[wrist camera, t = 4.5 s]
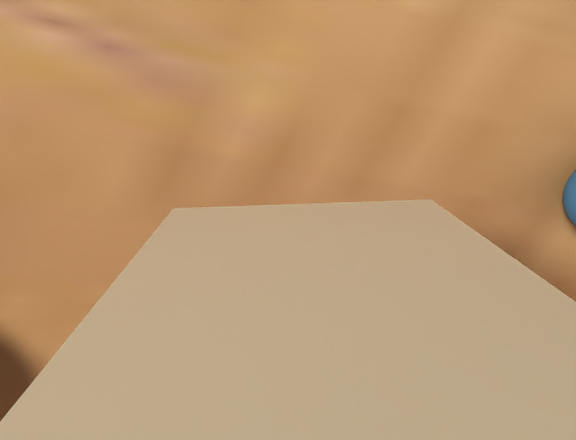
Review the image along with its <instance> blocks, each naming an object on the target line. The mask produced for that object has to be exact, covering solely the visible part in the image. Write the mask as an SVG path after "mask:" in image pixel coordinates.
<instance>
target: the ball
mask: <svg viewBox="0 0 576 440" xmlns="http://www.w3.org/2000/svg"><path fill="white" fill-rule="evenodd" d="M563 205H564V209H565V212H566V214H567V216H568V217H569V219H570V220H571V222H572V223H573V224H574V225H575V226H576V170H575V171H574V172H573V173H572V175H571V176H570V177H569V179H568V181H567V183H566V185H565V188H564V191H563Z"/></svg>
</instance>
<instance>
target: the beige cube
mask: <svg viewBox="0 0 576 440" xmlns="http://www.w3.org/2000/svg"><path fill="white" fill-rule="evenodd" d="M0 440H576V302H575V301H574V300H572V299H571V298H570V297H568V296H567V295H565V294H564V293H563V292H561V291H560V290H558V289H557V288H555V287H554V286H553V285H551V284H550V283H548V282H547V281H546V280H544V279H543V278H541V277H540V276H538V275H537V274H536V273H534V272H533V271H531V270H530V269H529V268H527V267H526V266H524V265H523V264H521V263H520V262H519V261H517V260H516V259H514V258H513V257H512V256H510V255H509V254H507V253H506V252H504V251H503V250H502V249H500V248H499V247H497V246H496V245H495V244H493V243H492V242H490V241H489V240H487V239H486V238H485V237H483V236H482V235H480V234H479V233H478V232H476V231H475V230H473V229H472V228H470V227H469V226H468V225H466V224H465V223H463V222H462V221H461V220H459V219H458V218H456V217H455V216H453V215H452V214H451V213H449V212H448V211H446V210H445V209H444V208H442V207H441V206H439V205H438V204H436V203H435V202H434V201H432V200H402V201H373V202H344V203H315V204H286V205H257V206H228V207H200V208H173V209H172V211H171V212H170V213H169V214H168V216H167V217H166V218H165V219H164V221H163V222H162V223H161V224H160V225H159V227H158V228H157V229H156V230H155V232H154V233H153V234H152V235H151V237H150V238H149V239H148V240H147V241H146V243H145V244H144V245H143V246H142V248H141V249H140V250H139V251H138V253H137V254H136V255H135V256H134V257H133V259H132V260H131V261H130V262H129V264H128V265H127V266H126V267H125V269H124V270H123V271H122V272H121V273H120V275H119V276H118V277H117V278H116V280H115V281H114V282H113V283H112V285H111V286H110V287H109V288H108V290H107V291H106V292H105V293H104V294H103V296H102V297H101V298H100V299H99V301H98V302H97V303H96V304H95V306H94V307H93V308H92V309H91V310H90V312H89V313H88V314H87V315H86V317H85V318H84V319H83V320H82V322H81V323H80V324H79V325H78V326H77V328H76V329H75V330H74V331H73V333H72V334H71V335H70V336H69V338H68V339H67V340H66V341H65V342H64V344H63V345H62V346H61V347H60V349H59V350H58V351H57V352H56V354H55V355H54V356H53V357H52V358H51V360H50V361H49V362H48V363H47V365H46V366H45V367H44V368H43V370H42V371H41V372H40V373H39V374H38V376H37V377H36V378H35V379H34V381H33V382H32V383H31V384H30V386H29V387H28V388H27V389H26V391H25V392H24V393H23V394H22V395H21V397H20V398H19V399H18V400H17V402H16V403H15V404H14V405H13V407H12V408H11V409H10V410H9V411H8V413H7V414H6V415H5V416H4V418H3V419H2V420H1V421H0Z"/></svg>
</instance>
